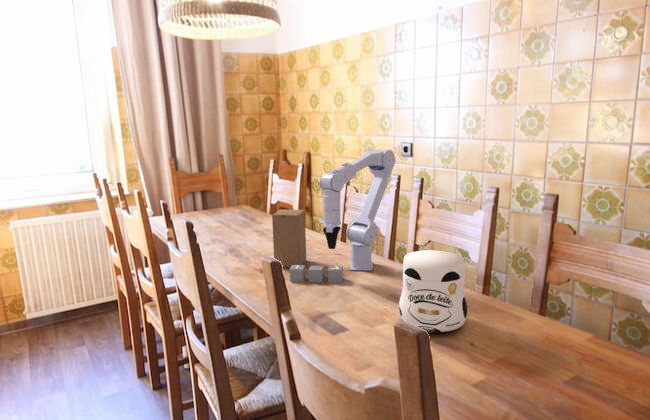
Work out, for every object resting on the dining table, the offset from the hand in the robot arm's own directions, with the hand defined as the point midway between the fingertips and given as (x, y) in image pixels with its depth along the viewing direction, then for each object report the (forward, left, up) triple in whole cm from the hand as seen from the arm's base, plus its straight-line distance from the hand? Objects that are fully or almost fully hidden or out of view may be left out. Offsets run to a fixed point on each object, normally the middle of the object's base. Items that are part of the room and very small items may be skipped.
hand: (332, 248), depth 155 cm
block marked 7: (+3, +1, -11) cm, 11 cm away
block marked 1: (+3, -12, -11) cm, 16 cm away
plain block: (+3, -5, -11) cm, 12 cm away
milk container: (+34, +30, -11) cm, 47 cm away
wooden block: (-14, -18, -11) cm, 25 cm away
